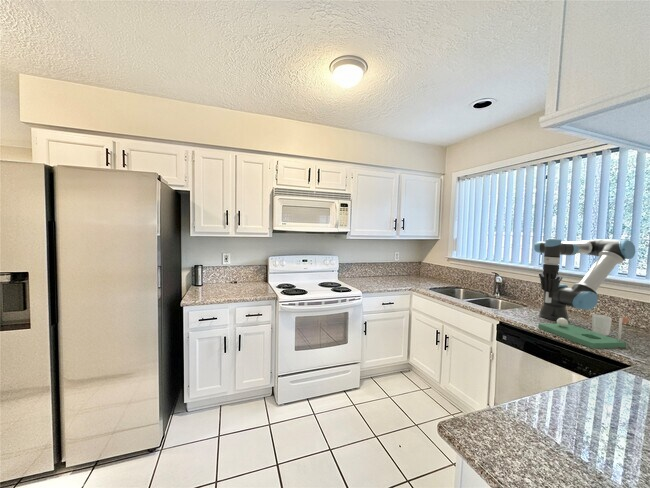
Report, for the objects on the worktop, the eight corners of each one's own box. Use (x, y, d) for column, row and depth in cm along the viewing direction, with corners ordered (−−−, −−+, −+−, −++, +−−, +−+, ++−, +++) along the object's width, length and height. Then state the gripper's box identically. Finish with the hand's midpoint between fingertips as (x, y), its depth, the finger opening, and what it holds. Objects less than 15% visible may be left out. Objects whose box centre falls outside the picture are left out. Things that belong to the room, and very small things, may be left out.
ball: (561, 325, 158) (561, 316, 158) (570, 328, 153) (570, 319, 153) (554, 325, 157) (554, 316, 157) (562, 328, 153) (563, 319, 152)
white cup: (614, 336, 149) (616, 319, 149) (597, 335, 150) (599, 317, 150) (602, 331, 157) (604, 314, 156) (587, 330, 158) (588, 313, 158)
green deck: (570, 327, 162) (572, 303, 162) (629, 347, 135) (631, 318, 134) (538, 327, 159) (540, 303, 158) (592, 348, 131) (594, 319, 131)
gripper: (535, 262, 169) (532, 299, 170) (556, 265, 156) (553, 305, 157) (546, 263, 170) (543, 299, 171) (567, 265, 157) (564, 305, 158)
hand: (548, 302), depth 164 cm, fingers closed
